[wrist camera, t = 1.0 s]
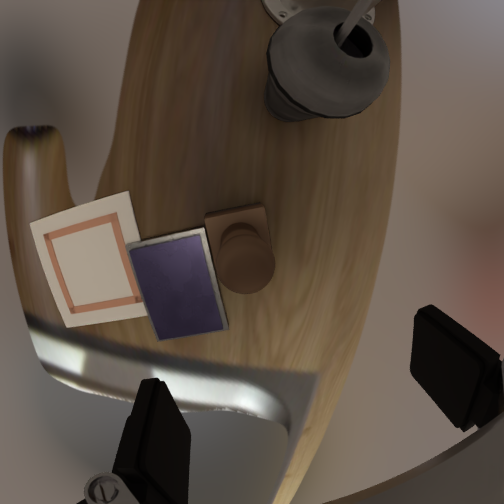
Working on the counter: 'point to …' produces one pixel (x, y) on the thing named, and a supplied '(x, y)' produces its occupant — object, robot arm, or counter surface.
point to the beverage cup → (325, 64)
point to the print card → (91, 260)
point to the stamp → (241, 247)
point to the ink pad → (178, 284)
